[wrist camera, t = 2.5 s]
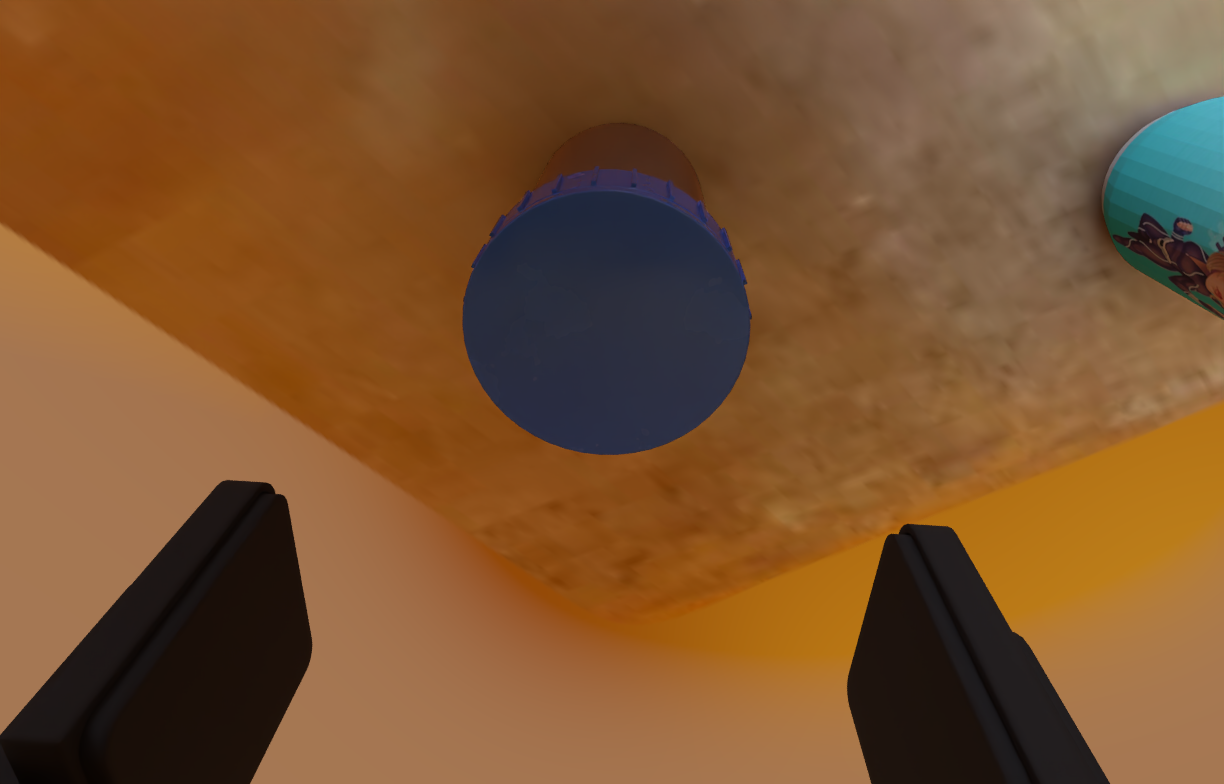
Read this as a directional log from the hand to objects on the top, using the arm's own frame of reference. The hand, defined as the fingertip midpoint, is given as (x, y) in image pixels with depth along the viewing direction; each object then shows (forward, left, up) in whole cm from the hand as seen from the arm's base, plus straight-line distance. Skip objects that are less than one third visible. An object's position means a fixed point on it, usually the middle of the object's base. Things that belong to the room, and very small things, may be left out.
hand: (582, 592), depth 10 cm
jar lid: (0, 0, -8) cm, 8 cm away
